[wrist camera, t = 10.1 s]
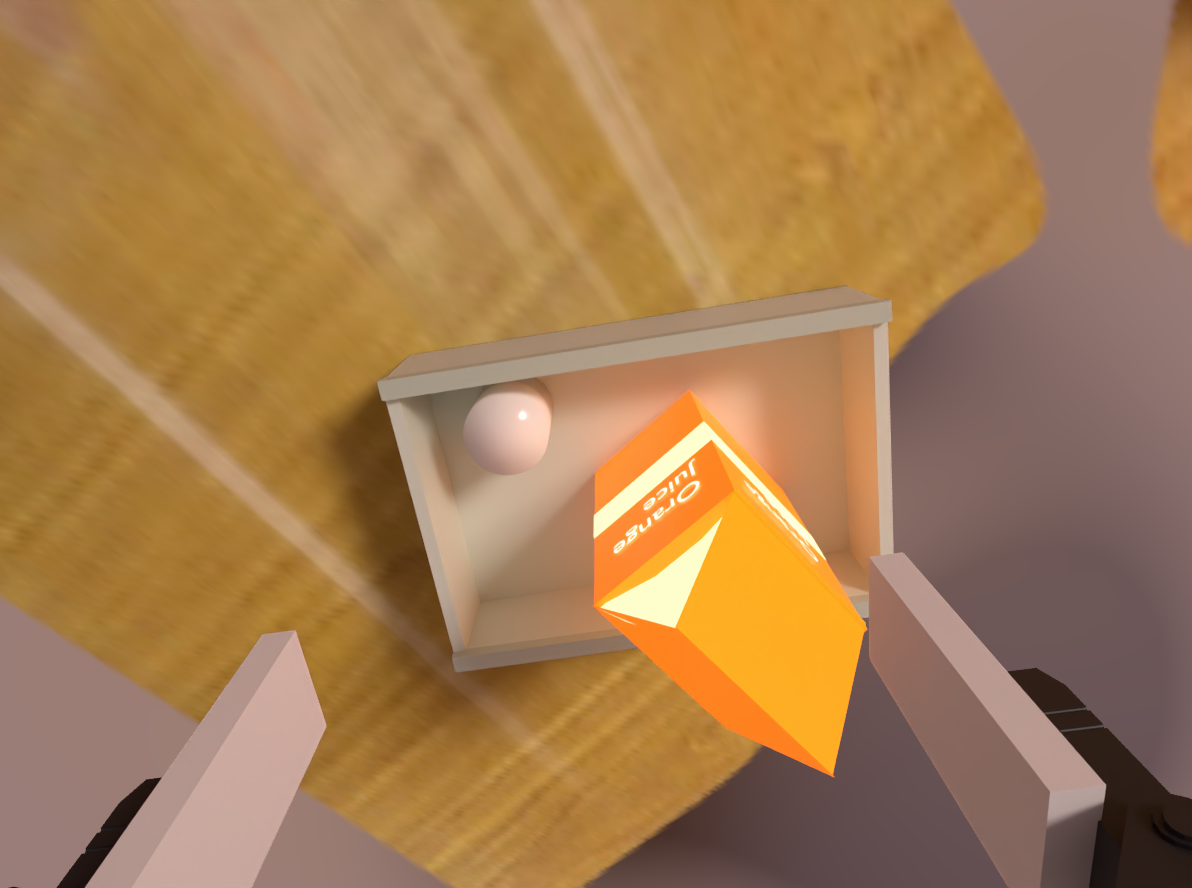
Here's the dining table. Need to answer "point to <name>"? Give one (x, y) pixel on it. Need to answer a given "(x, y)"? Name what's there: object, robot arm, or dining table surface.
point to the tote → (611, 421)
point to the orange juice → (725, 585)
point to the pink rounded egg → (509, 426)
